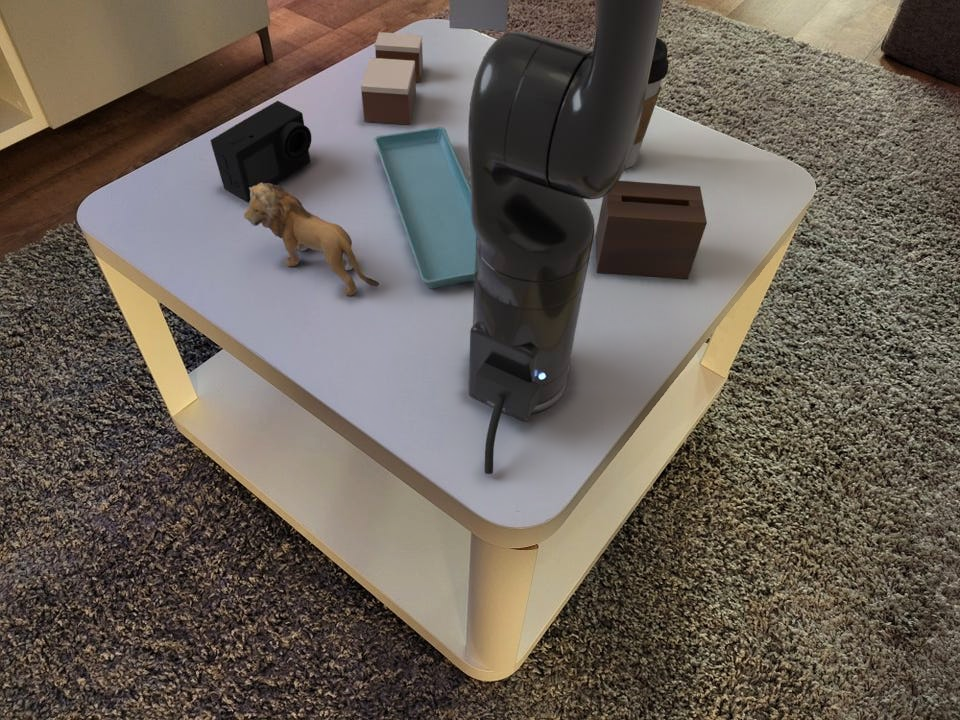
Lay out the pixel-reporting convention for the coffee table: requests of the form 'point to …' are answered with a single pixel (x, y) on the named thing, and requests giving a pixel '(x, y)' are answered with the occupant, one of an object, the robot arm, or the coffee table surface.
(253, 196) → the lion figurine
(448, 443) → the coffee table surface
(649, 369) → the coffee table surface
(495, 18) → the knife
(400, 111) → the brown lidded box
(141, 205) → the coffee table surface
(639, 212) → the knife block
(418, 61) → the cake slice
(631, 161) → the coffee cup
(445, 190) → the teal serving tray
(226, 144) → the digital camera
